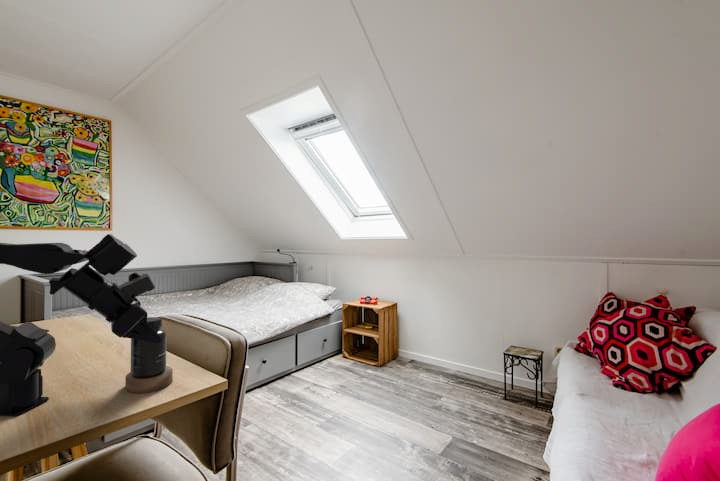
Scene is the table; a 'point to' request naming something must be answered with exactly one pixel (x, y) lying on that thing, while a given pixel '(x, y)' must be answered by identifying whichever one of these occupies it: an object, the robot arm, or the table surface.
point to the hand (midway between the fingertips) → (157, 336)
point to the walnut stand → (149, 382)
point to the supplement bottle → (149, 353)
